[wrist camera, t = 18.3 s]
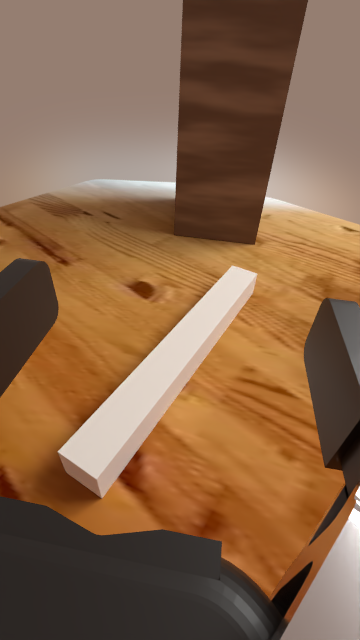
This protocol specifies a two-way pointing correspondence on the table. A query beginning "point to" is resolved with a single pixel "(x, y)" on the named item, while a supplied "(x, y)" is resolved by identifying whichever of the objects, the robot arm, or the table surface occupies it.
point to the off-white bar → (152, 387)
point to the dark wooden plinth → (231, 111)
